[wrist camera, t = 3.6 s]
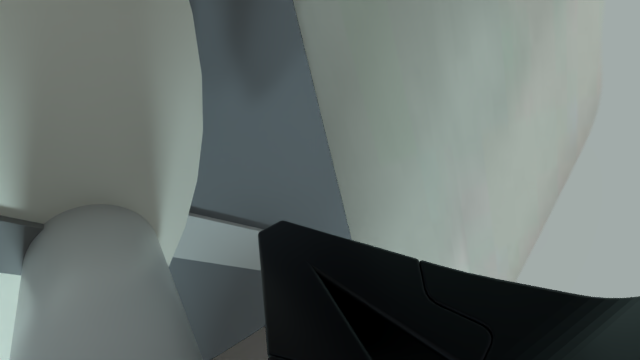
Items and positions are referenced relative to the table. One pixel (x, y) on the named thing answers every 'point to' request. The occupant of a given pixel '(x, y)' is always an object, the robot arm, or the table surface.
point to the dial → (96, 177)
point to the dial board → (250, 164)
